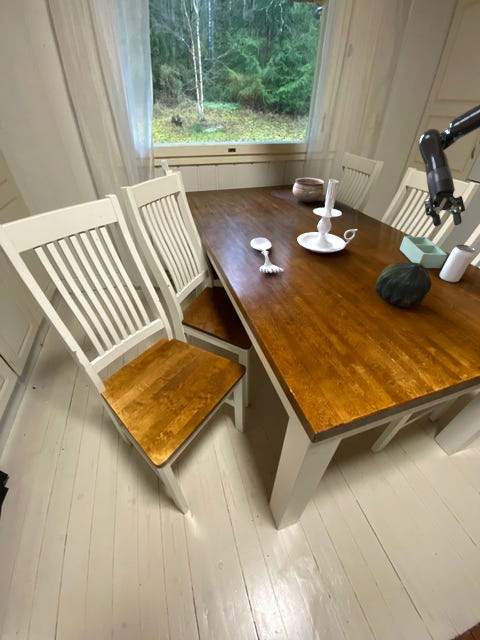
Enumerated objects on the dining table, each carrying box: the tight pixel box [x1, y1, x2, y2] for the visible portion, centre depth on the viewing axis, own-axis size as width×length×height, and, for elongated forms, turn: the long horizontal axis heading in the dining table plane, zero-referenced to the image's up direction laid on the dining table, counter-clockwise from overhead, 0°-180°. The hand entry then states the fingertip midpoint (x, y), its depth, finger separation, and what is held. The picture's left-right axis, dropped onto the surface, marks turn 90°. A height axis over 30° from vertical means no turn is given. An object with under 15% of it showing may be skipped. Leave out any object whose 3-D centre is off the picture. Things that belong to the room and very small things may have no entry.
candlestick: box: [296, 178, 358, 254], centre depth 112 cm, size 21×25×28 cm
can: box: [439, 244, 476, 283], centre depth 98 cm, size 6×6×12 cm
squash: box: [375, 261, 432, 309], centre depth 86 cm, size 14×15×15 cm
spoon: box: [250, 237, 284, 274], centre depth 111 cm, size 9×32×4 cm, turn 5°
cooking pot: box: [292, 177, 325, 204], centre depth 172 cm, size 25×19×12 cm
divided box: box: [399, 235, 448, 269], centre depth 112 cm, size 9×17×6 cm, turn 177°
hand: (448, 224), depth 100 cm, fingers open, 8 cm apart
